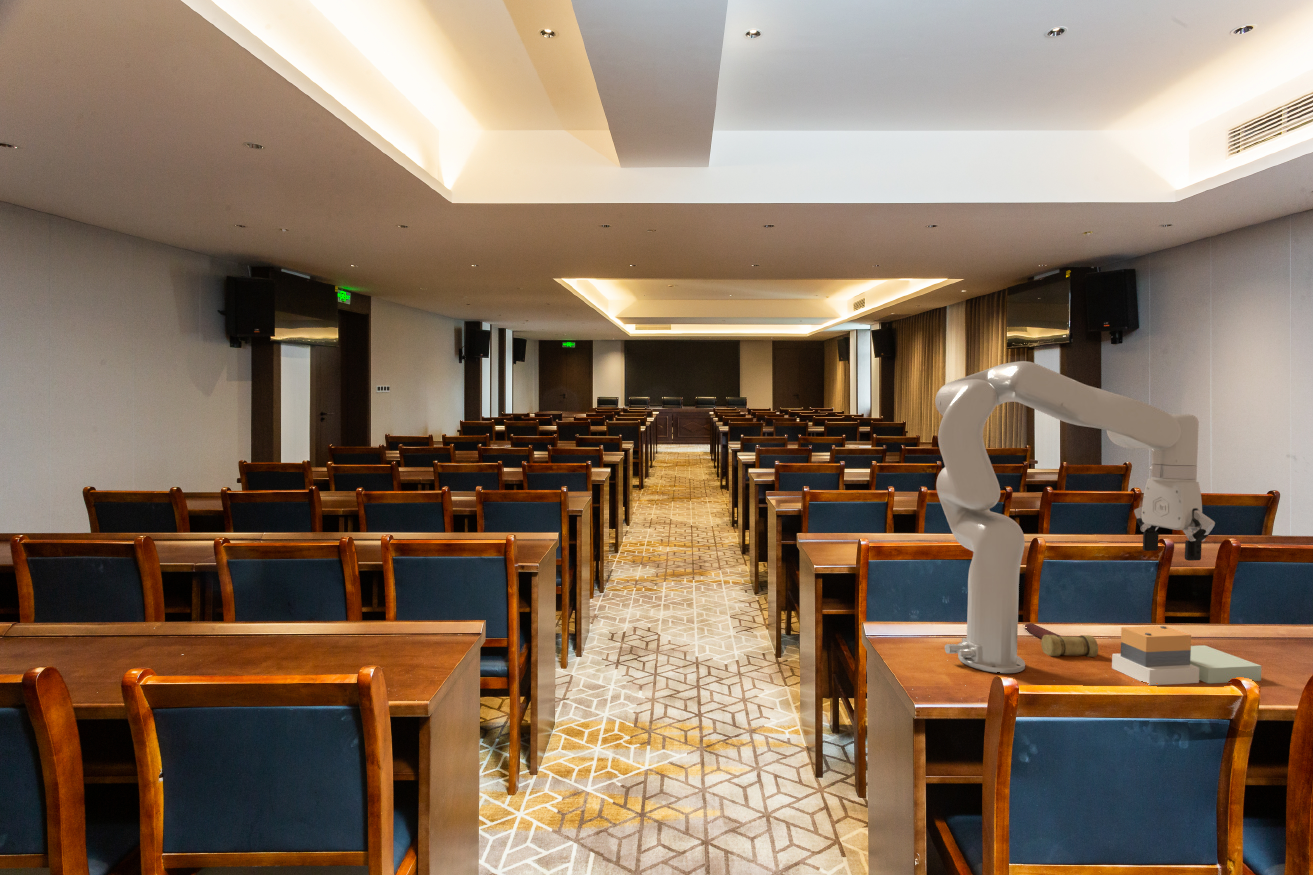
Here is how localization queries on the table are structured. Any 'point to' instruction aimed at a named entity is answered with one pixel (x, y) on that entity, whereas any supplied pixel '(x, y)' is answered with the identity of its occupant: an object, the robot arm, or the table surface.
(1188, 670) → the stand
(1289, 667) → the table surface
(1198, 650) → the stand
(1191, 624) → the table surface
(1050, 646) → the gavel
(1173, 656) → the housing base
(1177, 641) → the housing cover
